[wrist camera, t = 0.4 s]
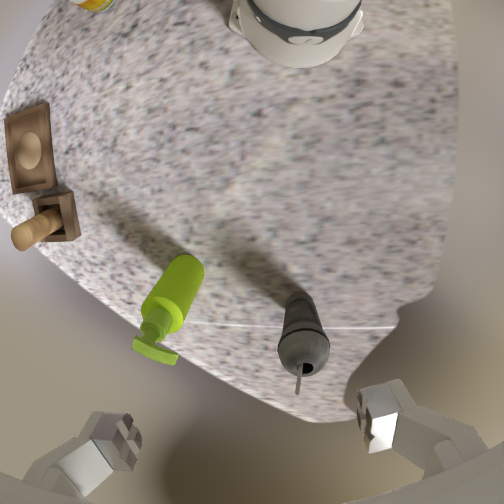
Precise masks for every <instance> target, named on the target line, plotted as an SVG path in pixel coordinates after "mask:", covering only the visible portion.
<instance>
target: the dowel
mask: <svg viewBox="0 0 504 504" xmlns="http://www.w3.org/2000/svg"><path fill="white" fill-rule="evenodd" d="M62 226H64V224H63V219H62V214H61V209H60V204H59V205H56V206H54V207H52V208H50V209H48V210H46V211H44V212H42V213H40V214H38V215H36V216H34V217H33V218H31V219H29V220H27V221H25V222H23V223H21V224H19V225H18V226H16V227H14V228H13V229H12V231H11V239H12V242H13V244H14V246H15V247H16V248H17V249H18V250H20V251H25V250H26V249H28V248H29V247H31V246H32V245H34V244H35V243H37V242H38V241H40V240H42V239H43V238H45V237H46V236H48V235H49V234H51V233H53V232H54V231H56V230H58V229H59V228H61V227H62Z"/></svg>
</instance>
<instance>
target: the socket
mask: <svg viewBox="0 0 504 504" xmlns="http://www.w3.org/2000/svg"><path fill="white" fill-rule="evenodd" d="M32 202H33V207H34V212H35V216H36V215H38V214H40V213H42V212H44V211H46V210H48V209H49V207H48V205H51V204H60V209H61V214H62V219H63V224H64V229H65V230H56V231H54V232H53V233H51V234H49V235H48V236H46V237H45V238H43V239H42V240H41V242H64V241H74V240H75V239H76V238H78V237H79V236H81V231H80V226H79V221H78V216H77V211H76V205H75V200H74V194H73V192H66V193H59V194H52V195H45V196H41V197H39V198H36V199H34V200H32Z"/></svg>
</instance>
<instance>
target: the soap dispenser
mask: <svg viewBox="0 0 504 504" xmlns="http://www.w3.org/2000/svg"><path fill="white" fill-rule="evenodd" d="M203 278H204V268H203V266H202V264H201V263H200V261H199V260H198V259H196V258H195V257H193V256H190V255H180V256H177V257H176V258H174V259H173V261H172V262H171V263H170V265H169V266H168V268H167V269H166V270H165V272H164V273H163V275H162V276H161V278H160V279H159V280H158V282H157V283H156V285H155V286H154V288H153V289H152V291H151V292H150V293H149V295H148V296H147V298H146V299H145V301H144V302H143V304H142V307H141V314H142V317H143V319H144V320H143V322H142V324H141V327H140V330H141V333H142V334H143V336H142V338H140V337H139V336H137V335H136V336H135V338H134V341H133V342H134V343H133V346H132V349H133V350H135V351H137V352H139V353H140V354H142V355H144V356H146V357H148V358H151V359H153V360H155V361H158V362H161V363H165V364H170V365H175V364H176V361H177V358H178V354H177V353H176V352H174V351H170V350H167V349H164V348H161V347H159V346H157V345H155V342H161V341H163V340H164V339H165V337H166V335H167V334H169V333H174V332H176V331H178V330H179V329H180V328H181V326H182V324H183V322H184V320H185V318H186V315H187V313H188V311H189V309H190V306H191V304H192V302H193V300H194V298H195V295H196V293H197V291H198V289H199V287H200V284H201V282H202V280H203Z"/></svg>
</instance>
